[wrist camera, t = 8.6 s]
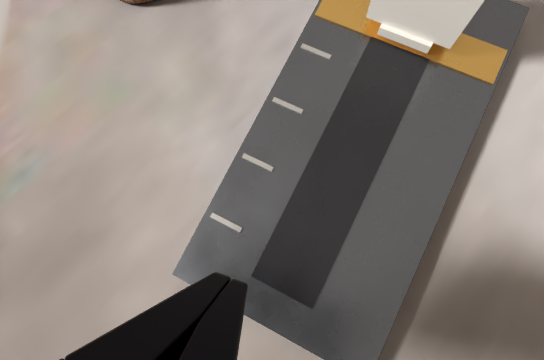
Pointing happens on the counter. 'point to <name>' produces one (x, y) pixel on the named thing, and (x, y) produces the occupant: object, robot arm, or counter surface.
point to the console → (348, 175)
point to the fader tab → (423, 20)
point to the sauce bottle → (135, 1)
